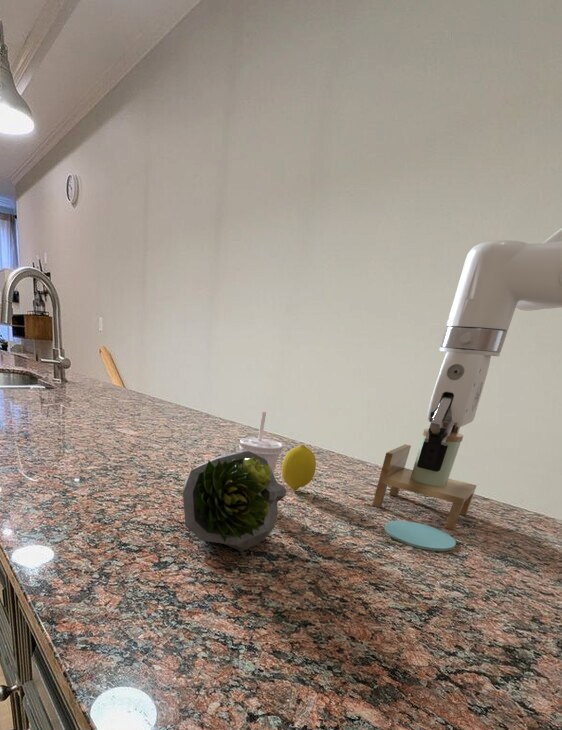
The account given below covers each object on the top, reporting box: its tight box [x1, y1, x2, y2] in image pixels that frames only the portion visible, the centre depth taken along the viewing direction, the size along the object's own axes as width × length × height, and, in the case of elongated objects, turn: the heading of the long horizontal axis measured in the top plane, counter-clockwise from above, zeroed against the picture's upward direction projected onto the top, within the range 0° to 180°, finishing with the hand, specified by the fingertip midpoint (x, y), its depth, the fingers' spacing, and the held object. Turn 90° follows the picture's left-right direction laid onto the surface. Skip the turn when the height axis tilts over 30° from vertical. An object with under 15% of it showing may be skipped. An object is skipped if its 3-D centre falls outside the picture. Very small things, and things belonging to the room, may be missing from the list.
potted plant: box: [182, 451, 287, 553], centre depth 53 cm, size 12×13×15 cm
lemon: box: [281, 444, 317, 491], centre depth 76 cm, size 6×6×8 cm
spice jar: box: [411, 428, 464, 486], centre depth 70 cm, size 5×5×8 cm
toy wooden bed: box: [371, 444, 478, 531], centre depth 71 cm, size 12×10×9 cm
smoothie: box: [238, 411, 284, 475], centre depth 67 cm, size 6×6×14 cm
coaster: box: [384, 520, 457, 552], centre depth 63 cm, size 9×9×1 cm
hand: (433, 464), depth 70 cm, fingers closed on spice jar, 5 cm apart
